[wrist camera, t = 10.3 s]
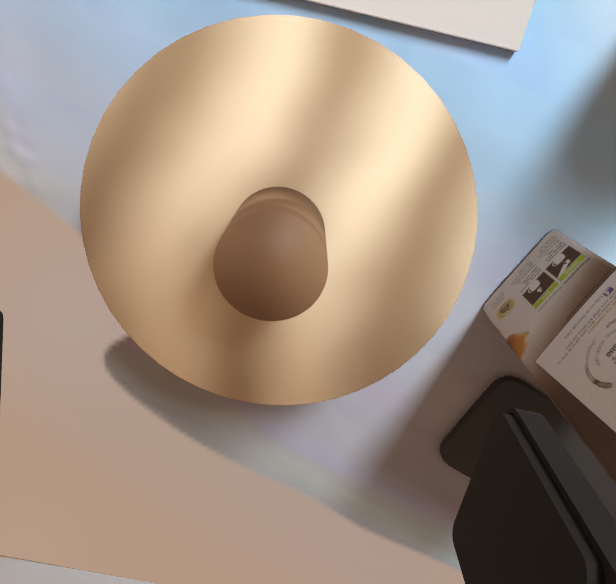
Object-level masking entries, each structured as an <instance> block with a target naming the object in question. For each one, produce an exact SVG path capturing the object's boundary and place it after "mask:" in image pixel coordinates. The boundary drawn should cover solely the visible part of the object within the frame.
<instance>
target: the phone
mask: <svg viewBox="0 0 616 584" xmlns="http://www.w3.org/2000/svg"><path fill="white" fill-rule="evenodd" d="M511 407H512V408H517V409H521V410H526V411H531V412H536V413H541V414H542V415H543V416H544V417H545V418H546V420H547V421H548V423H549V424H550V426H551V427H552V429H553V430H554V432H555V433H556V435H557V436H558V438H559V439H560V440H561V442H562V443H563V445H564V446H565V448H566V449H567V451H568V452H569V454H570V455H571V457H572V458H573V460H574V461H575V463H576V464H577V465H578V467H579V468H580V470H581V471H582V473H583V474H584V476H585V477H586V479H587V480H588V482H589V483H590V485H591V486H592V488H593V489H594V490H595V492H596V493H597V495H598V496H599V498H600V499H601V501H602V502H603V504H604V505H605V507H606V508H607V510H608V511H609V513H610V514H611V515H612V517H613V518H614V520H615V521H616V485H615V483H614V482H613V480H612V479H611V478H610V477H609V475H608V474H607V473H606V471H605V470H604V469H603V467H602V466H601V465H600V463H599V462H598V461H597V460H596V458H595V457H594V456H593V454H592V453H591V452H590V451H589V449H588V448H587V447H586V445H585V444H584V443H583V441H582V440H581V439H580V437H579V436H578V435H577V433H576V432H575V431H574V430H573V428H572V427H571V426H570V424H569V423H568V422H567V420H566V419H565V418H564V416H563V415H562V414H561V413H560V411H559V410H558V409H557V407H556V406H555V405H554V403H553V402H552V401H551V399H550V398H548V397H547V396H545V395H543V394H542V393H540V392H539V391H537V390H535V389H534V388H532V387H531V386H529V385H528V384H526V383H524V382H523V381H521V380H519V379H517V378H515V377H510V376H506V377H501V378H499V379H497V380H496V381H494V382H493V383H492V384H491V385H490V386H489V387H488V389H487V390H486V391H485V392H484V393H483V394H482V395H481V397H480V398H479V399H478V400H477V401H476V402H475V404H474V405H473V406H472V407H471V408H470V409H469V411H468V412H467V413H466V414H465V415H464V416H463V417H462V419H461V420H460V421H459V422H458V423H457V424H456V426H455V427H454V428H453V429H452V430H451V431H450V433H449V434H448V435H447V436H446V437H445V439H444V440H443V441H442V443H441V446H440V452H441V455H442V458H443V460H444V461H445V462H446V463H447V464H448V465H449V466H451V467H453V468H454V469H456V470H458V471H460V472H461V473H463V474H465V475H467V476H468V477H470V478H472V475H473V473H474V470H475V467H476V465H477V462H478V460H479V457H480V454H481V452H482V449H483V447H484V444H485V442H486V439H487V436H488V434H489V431H490V429H491V426H492V423H493V421H494V419H495V417H496V415H497V414H499V413H504V414H505V412H506V411H507V410H508V409H509V408H511Z"/></svg>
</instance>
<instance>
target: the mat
mask: <svg viewBox="0 0 616 584" xmlns="http://www.w3.org/2000/svg"><path fill="white" fill-rule="evenodd" d="M306 1H310V2H314V3H318V4H322V5H327V6H331V7H335V8H339V9H343V10H347V11H351V12H355V13H359V14H364V15H368V16H372V17H376V18H380V19H384V20H388V21H392V22H396V23H400V24H405V25H409V26H413V27H417V28H421V29H425V30H429V31H433V32H437V33H442V34H446V35H450V36H454V37H458V38H462V39H466V40H470V41H474V42H479V43H483V44H487V45H491V46H495V47H499V48H503V49H507V50H511V51H515V52H516V51H519V49H520V46H521V43H522V40H523V36H524V33H525V30H526V27H527V24H528V21H529V18H530V15H531V11H532V8H533V5H534V2H535V0H306Z"/></svg>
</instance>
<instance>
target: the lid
mask: <svg viewBox="0 0 616 584" xmlns="http://www.w3.org/2000/svg"><path fill="white" fill-rule="evenodd" d="M80 219H81V228H82V236H83V243H84V246H85V251H86V255H87V259H88V263H89V266H90V269H91V271H92V274H93V276H94V279H95V281H96V284H97V286H98V289H99V291H100V292H101V295H102V296H103V298H104V300H105V302H106V304H107V306H108V307H109V309H110V311H111V312H112V314H113V315H114V316H115V318H116V319H117V321H118V322H119V323H120V325H121V326H122V328H123V329H124V330H125V331H126V333H127V334H128V335H129V336H130V337H131V338H132V339H133V340H134V341H135V342H136V343H137V345H138V346H139V347H140V348H141V349H142V350H144V351H145V352H146V353H147V354H148V355H149V356H151V357H152V358H153V359H154V360H155V361H156V362H158V363H159V364H160V365H162V366H163V367H165V368H166V369H168V370H169V371H171V372H172V373H173V374H175V375H176V376H178V377H180V378H182V379H184V380H185V381H187V382H189V383H191V384H193V385H195V386H197V387H199V388H202V389H204V390H207V391H209V392H212V393H215V394H217V395H220V396H223V397H227V398H231V399H235V400H239V401H243V402H250V403H257V404H264V405H299V404H309V403H316V402H321V401H326V400H330V399H335V398H338V397H341V396H344V395H347V394H350V393H353V392H356V391H358V390H361V389H363V388H365V387H367V386H369V385H371V384H373V383H375V382H377V381H379V380H381V379H382V378H384V377H386V376H387V375H389V374H390V373H392V372H394V371H395V370H397V369H398V368H399V367H401V366H402V365H403V364H404V363H406V362H407V361H408V360H409V359H411V358H412V357H413V356H414V355H415V354H417V353H418V351H419V350H420V349H421V348H422V347H423V346H424V345H425V344H426V343H427V342H428V341H429V340H430V339H431V338H432V337H433V336H434V334H435V333H436V332H437V330H438V329H439V328H440V326H441V325H442V323H443V322H444V321H445V319H446V318H447V316H448V315H449V313H450V311H451V309H452V308H453V306H454V304H455V302H456V301H457V299H458V297H459V295H460V292H461V290H462V287H463V285H464V282H465V280H466V277H467V275H468V272H469V268H470V264H471V260H472V256H473V253H474V248H475V239H476V231H477V195H476V188H475V181H474V175H473V170H472V167H471V163H470V160H469V157H468V153H467V150H466V147H465V144H464V142H463V140H462V138H461V135H460V133H459V131H458V129H457V126H456V124H455V122H454V120H453V119H452V117H451V116H450V114H449V112H448V111H447V109H446V108H445V106H444V104H443V103H442V101H441V100H440V98H439V97H438V96H437V95H436V93H435V92H434V91H433V90H432V89H431V87H430V86H429V85H428V84H427V83H426V81H425V80H424V79H423V78H422V77H421V76H420V75H419V74H418V73H417V72H416V71H415V70H413V69H412V68H411V67H410V66H409V65H408V64H407V63H406V62H405V61H403V60H402V59H401V58H400V57H398V56H397V55H395V54H394V53H392V52H391V51H390V50H388V49H387V48H385V47H384V46H382V45H381V44H379V43H378V42H376V41H374V40H372V39H370V38H368V37H366V36H364V35H361V34H359V33H357V32H355V31H353V30H351V29H348V28H345V27H342V26H339V25H336V24H333V23H329V22H326V21H323V20H318V19H312V18H306V17H300V16H292V15H260V16H252V17H244V18H236V19H232V20H228V21H225V22H221V23H218V24H214V25H210V26H207V27H205V28H203V29H200V30H198V31H196V32H194V33H191V34H189V35H187V36H184V37H182V38H180V39H179V40H177V41H176V42H174V43H172V44H171V45H169V46H168V47H166V48H165V49H163V50H161V51H160V52H158V53H157V54H156V55H154V56H153V57H152V58H151V59H150V60H149V61H147V62H146V63H145V64H144V65H143V66H142V67H140V68H139V69H138V70H137V71H136V72H135V73H134V74H133V75H132V77H131V78H130V79H129V80H128V81H127V82H126V83H125V85H124V86H123V87H122V88H121V89H120V90H119V91H118V93H117V94H116V96H115V97H114V99H113V101H112V102H111V104H110V105H109V107H108V108H107V110H106V111H105V113H104V115H103V116H102V119H101V121H100V123H99V125H98V127H97V130H96V132H95V134H94V136H93V138H92V141H91V144H90V148H89V151H88V155H87V158H86V161H85V165H84V171H83V178H82V184H81V194H80Z"/></svg>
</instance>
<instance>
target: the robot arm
mask: <svg viewBox="0 0 616 584" xmlns="http://www.w3.org/2000/svg"><path fill="white" fill-rule="evenodd" d="M2 341H3V314H2V312H1V311H0V397H1V370H2ZM453 543H454V547H455V550H456V554H457V557H458V560H459V564H460V567H461V571H462V574H463V578H464V581H465V584H616V521H615V520H614V518H613V517H612V515H611V514H610V513H609V511H608V510H607V508H606V507H605V505H604V504H603V502H602V501H601V499H600V498H599V496H598V495H597V493H596V492H595V490H594V489H593V488H592V486H591V485H590V483H589V482H588V480H587V479H586V477H585V476H584V474H583V473H582V471H581V470H580V468H579V467H578V465H577V464H576V463H575V461H574V460H573V458H572V457H571V455H570V454H569V452H568V451H567V449H566V448H565V446H564V445H563V443H562V442H561V440H560V439H559V438H558V436H557V435H556V433H555V432H554V430H553V429H552V427H551V426H550V424H549V423H548V421H547V420H546V418H545V417H544V416H543V415H542V414H541V413H536V412H531V411H526V410H521V409H517V408H512V407H511V408H509V409H508V410H507V411H506V412H505V414H504V413H499V414H497V415H496V417H495V419H494V421H493V423H492V426H491V429H490V431H489V434H488V436H487V439H486V442H485V444H484V447H483V449H482V452H481V454H480V457H479V460H478V462H477V465H476V467H475V470H474V473H473V475H472V478H471V480H470V483H469V486H468V488H467V491H466V493H465V496H464V498H463V501H462V504H461V506H460V509H459V511H458V514H457V517H456V519H455V522H454V526H453ZM0 584H156V583H151V582H145V581H139V580H134V579H128V578H123V577H118V576H112V575H107V574H101V573H95V572H90V571H84V570H79V569H73V568H68V567H62V566H57V565H51V564H46V563H40V562H35V561H29V560H24V559H18V558H12V557H6V556H1V555H0Z"/></svg>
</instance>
